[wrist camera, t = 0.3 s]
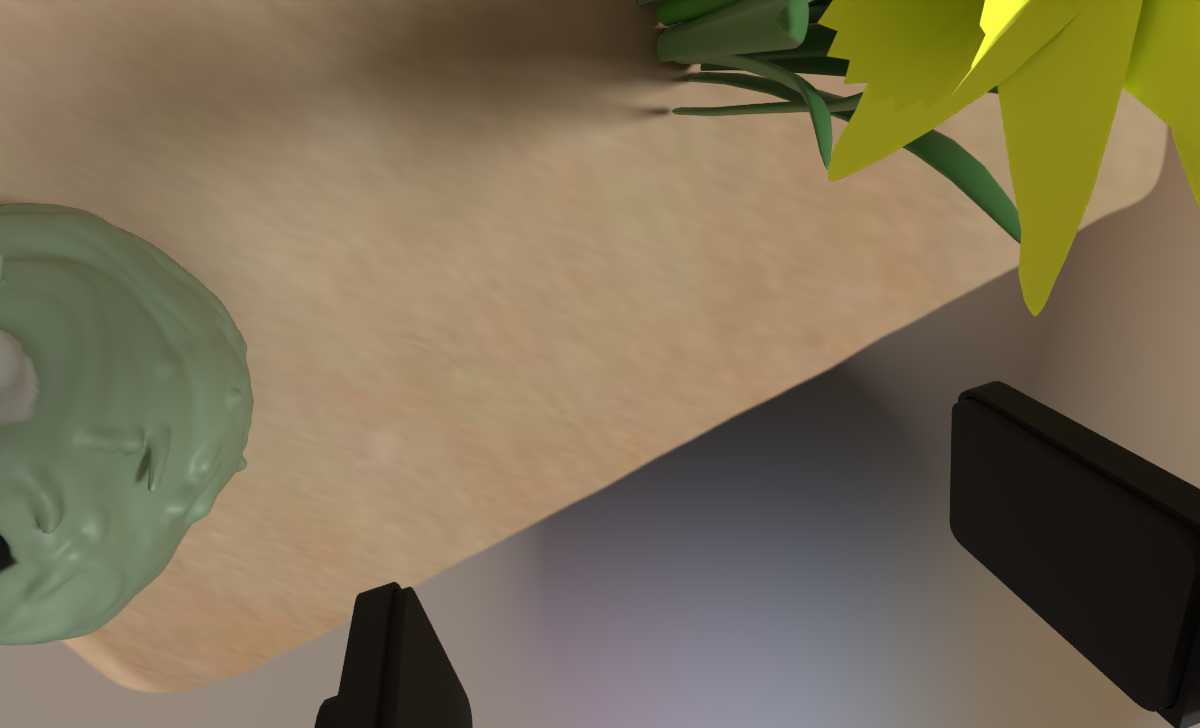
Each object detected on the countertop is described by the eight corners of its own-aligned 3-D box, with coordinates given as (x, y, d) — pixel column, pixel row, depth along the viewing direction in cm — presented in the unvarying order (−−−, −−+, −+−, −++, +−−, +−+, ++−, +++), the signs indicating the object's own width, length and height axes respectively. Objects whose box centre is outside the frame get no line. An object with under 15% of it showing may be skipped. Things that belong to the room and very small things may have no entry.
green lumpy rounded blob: (58, 494, 39) (-273, 839, 21) (-95, 178, 31) (-825, 304, 13) (325, 454, 42) (231, 731, 24) (245, 155, 34) (17, 234, 16)
